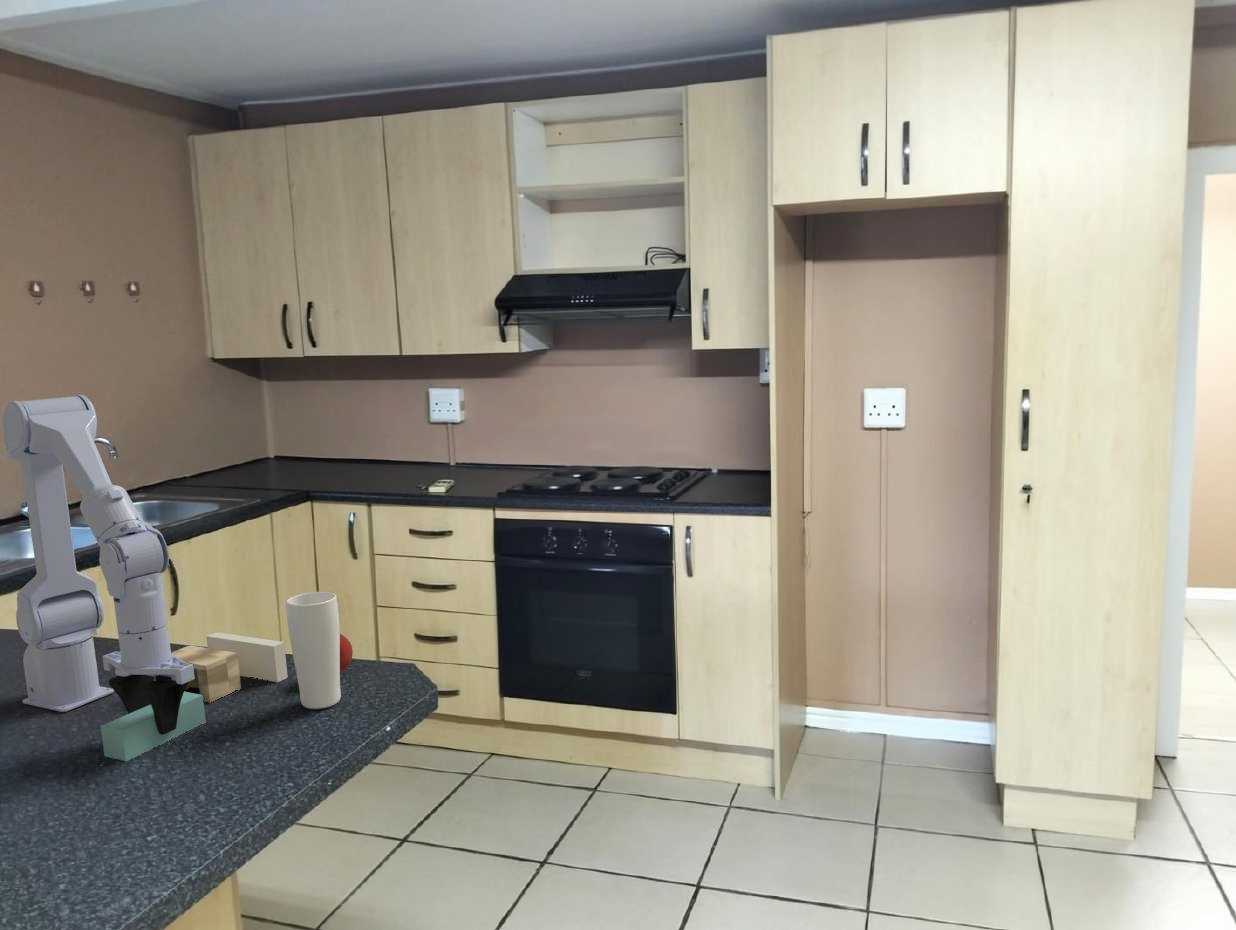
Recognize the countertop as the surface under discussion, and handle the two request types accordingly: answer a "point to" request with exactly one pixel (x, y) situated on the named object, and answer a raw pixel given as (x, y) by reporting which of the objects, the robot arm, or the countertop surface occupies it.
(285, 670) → the wall
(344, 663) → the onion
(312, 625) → the drinking glass
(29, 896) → the countertop surface
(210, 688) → the block
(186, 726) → the mint green rectangular prism
